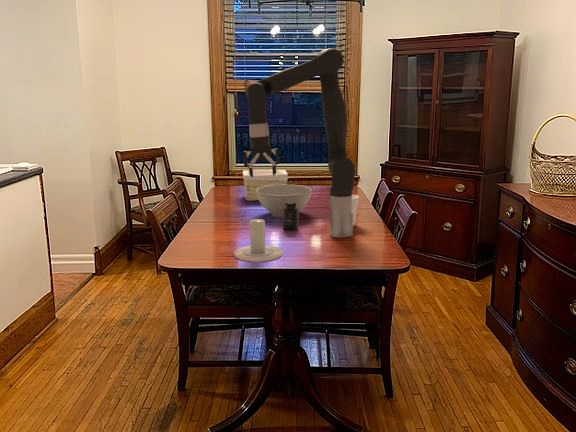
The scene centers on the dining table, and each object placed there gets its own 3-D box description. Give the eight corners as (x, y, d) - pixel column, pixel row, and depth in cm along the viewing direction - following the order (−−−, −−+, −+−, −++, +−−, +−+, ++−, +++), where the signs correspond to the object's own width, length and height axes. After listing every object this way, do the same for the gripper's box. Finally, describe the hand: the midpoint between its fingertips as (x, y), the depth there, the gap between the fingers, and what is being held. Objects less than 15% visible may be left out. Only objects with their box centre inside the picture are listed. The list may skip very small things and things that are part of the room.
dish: (280, 246, 218) (280, 244, 217) (283, 260, 200) (283, 258, 200) (234, 247, 216) (234, 245, 216) (234, 262, 199) (233, 260, 199)
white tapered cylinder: (265, 249, 211) (264, 218, 208) (265, 253, 206) (265, 222, 203) (250, 249, 211) (249, 219, 208) (250, 254, 205) (249, 223, 202)
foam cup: (344, 221, 254) (345, 193, 251) (362, 224, 249) (362, 195, 245) (333, 225, 247) (333, 196, 244) (350, 228, 242) (351, 199, 238)
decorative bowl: (313, 208, 280) (313, 184, 277) (310, 221, 254) (310, 195, 251) (260, 207, 283) (260, 184, 280) (252, 220, 257) (251, 195, 254)
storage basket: (285, 194, 314) (285, 168, 310) (288, 200, 298) (288, 173, 294) (243, 195, 311) (242, 170, 307) (244, 202, 295) (243, 175, 292)
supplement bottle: (285, 231, 238) (284, 204, 235) (281, 227, 245) (280, 201, 242) (300, 230, 240) (300, 203, 237) (296, 226, 246) (295, 200, 243)
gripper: (241, 137, 211) (245, 179, 215) (278, 134, 212) (281, 176, 216) (241, 135, 219) (245, 176, 223) (277, 132, 219) (280, 173, 223)
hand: (263, 176), depth 219 cm, fingers open, 8 cm apart
